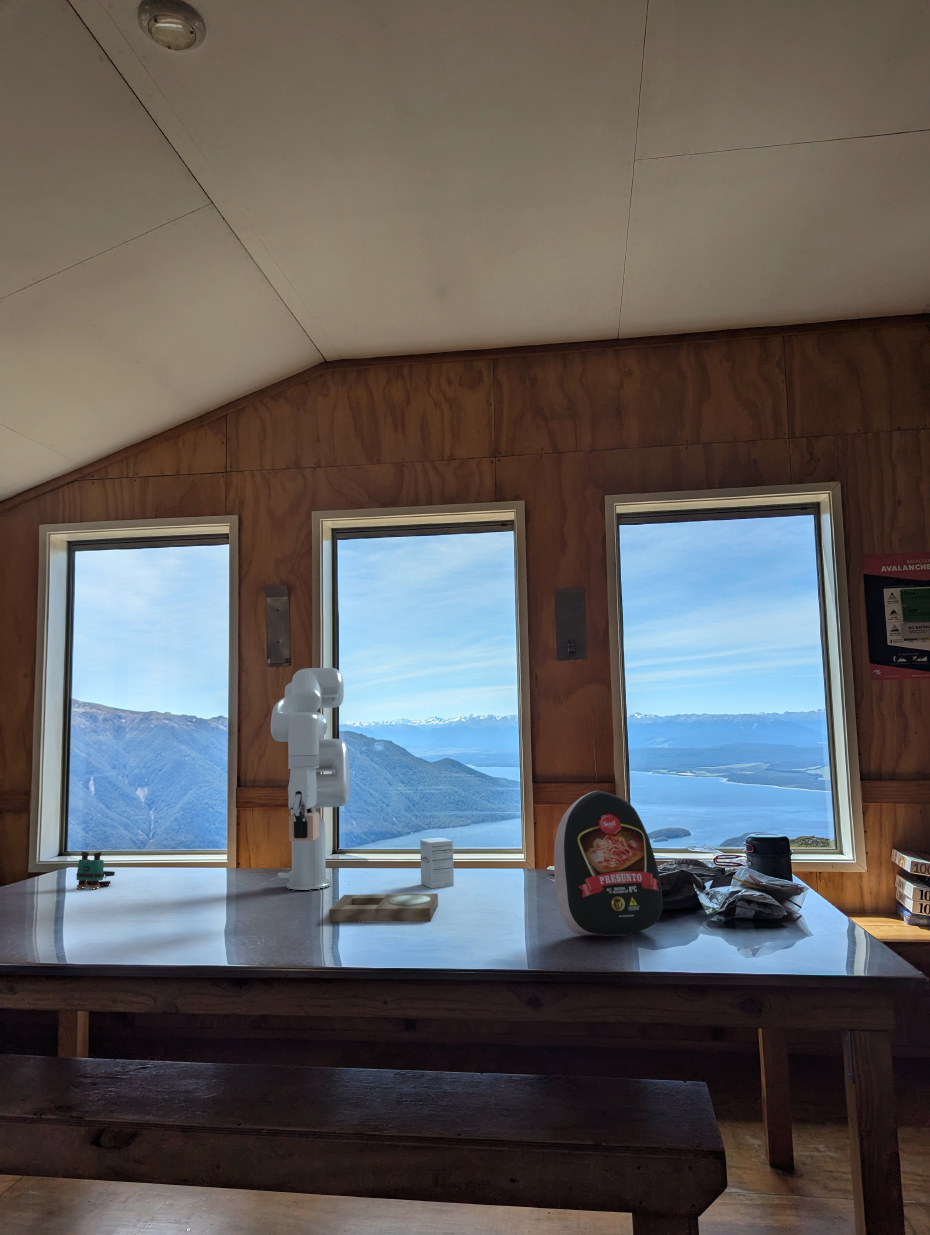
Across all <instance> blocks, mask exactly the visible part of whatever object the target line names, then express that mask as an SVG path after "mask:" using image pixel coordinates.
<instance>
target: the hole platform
mask: <svg viewBox="0 0 930 1235" xmlns="http://www.w3.org/2000/svg"><path fill="white" fill-rule="evenodd" d="M438 906H439V894H438V893H386V894H385V893H384V894H383V893H382V894H381V893H380V894H378V893H377V894H375V893H374V894H373V893H372V894H343V895H342V896H341V897H340V898H339V899H338V900H337V901H336V902H335V903H334V904H333V905H332V906H331V907H330V908H329V910H328V913H329V917H328V918H329V921H328V922H330V923H363V922H362V921H414V922H431V921H432V919H433V917H434V916H435V913H436V911H437V909H438ZM359 921H360V922H359Z"/></svg>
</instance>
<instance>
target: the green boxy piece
mask: <svg viewBox="0 0 930 1235" xmlns="http://www.w3.org/2000/svg"><path fill="white" fill-rule="evenodd" d="M80 856H81V859H79V860H78V864H77V871H76V874H75V875H76V876H75V878H76V881H78V884H76V888H77V887H78V888H82V887H86V886H87V887H88V885H89V889H90V888H97V887H99V888H100V887H103V886H102V885H106V886H110V885H111V883H112V882H111V880H104V881H103V879H107V877H113V876H115V874H116V871H114V870H113V871H110V870H109V871H108V870H104V864H105V863H104V859H101V857H102V851H98V852H96V853H93V857H94V858H93V859H88V858H89V856H90V853H89V852H87V851H81V855H80ZM109 884H110V885H109ZM87 887H86V888H87Z"/></svg>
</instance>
